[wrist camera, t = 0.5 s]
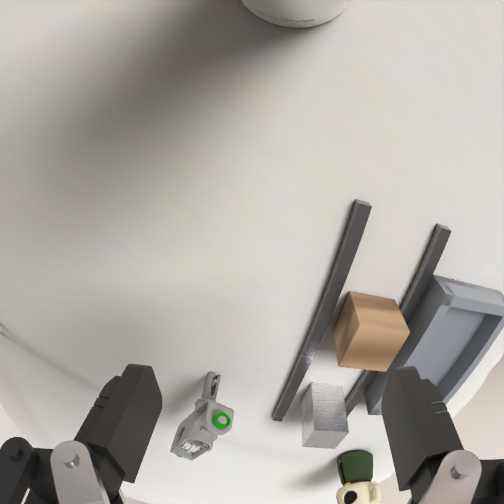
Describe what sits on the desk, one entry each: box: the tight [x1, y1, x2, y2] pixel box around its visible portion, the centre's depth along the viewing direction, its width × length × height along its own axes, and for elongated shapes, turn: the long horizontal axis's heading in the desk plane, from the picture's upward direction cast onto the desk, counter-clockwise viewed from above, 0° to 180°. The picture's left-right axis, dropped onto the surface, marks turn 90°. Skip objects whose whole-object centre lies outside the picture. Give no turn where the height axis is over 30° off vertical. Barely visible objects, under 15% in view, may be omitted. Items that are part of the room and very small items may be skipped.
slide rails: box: [273, 199, 451, 421], centre depth 31 cm, size 30×10×1 cm, turn 169°
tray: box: [364, 275, 504, 415], centre depth 29 cm, size 18×11×4 cm, turn 168°
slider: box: [333, 291, 410, 372], centre depth 27 cm, size 6×5×5 cm
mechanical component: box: [170, 372, 234, 460], centre depth 31 cm, size 3×10×10 cm, turn 147°
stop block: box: [302, 382, 349, 449], centre depth 32 cm, size 4×4×7 cm
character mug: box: [336, 451, 382, 504], centre depth 37 cm, size 11×7×13 cm, turn 160°
